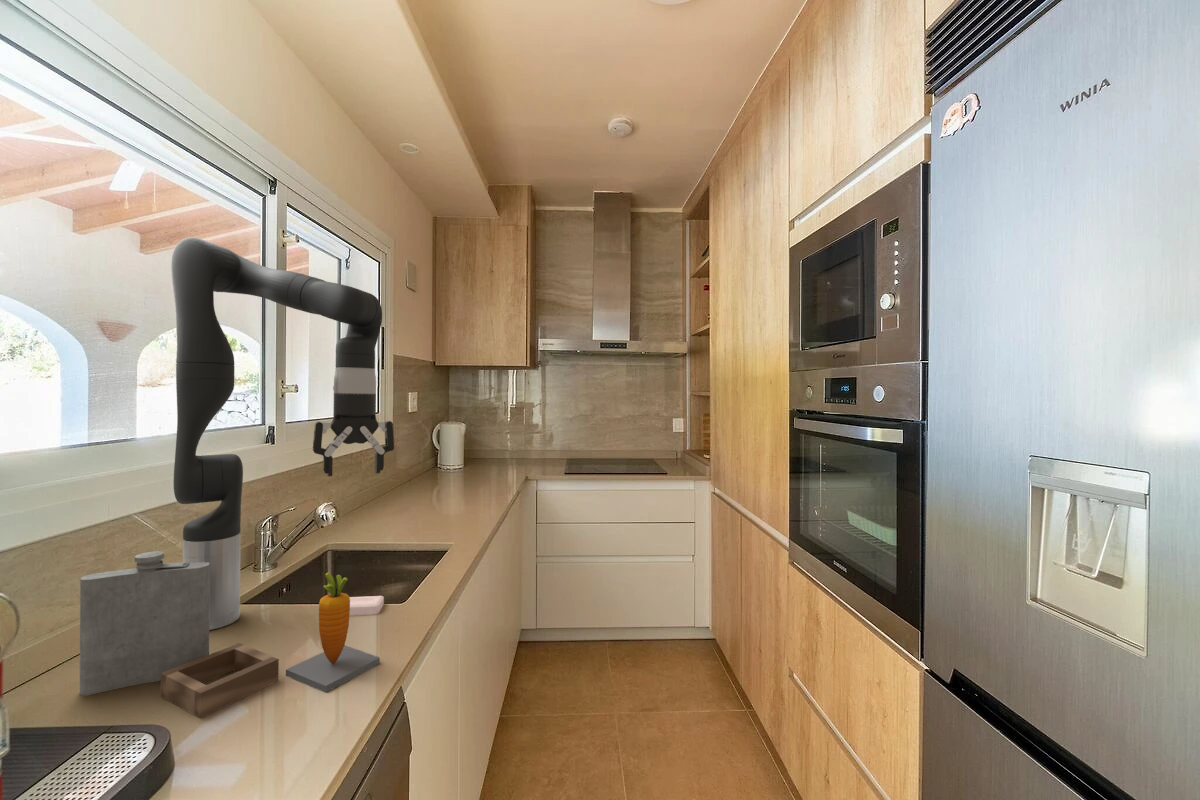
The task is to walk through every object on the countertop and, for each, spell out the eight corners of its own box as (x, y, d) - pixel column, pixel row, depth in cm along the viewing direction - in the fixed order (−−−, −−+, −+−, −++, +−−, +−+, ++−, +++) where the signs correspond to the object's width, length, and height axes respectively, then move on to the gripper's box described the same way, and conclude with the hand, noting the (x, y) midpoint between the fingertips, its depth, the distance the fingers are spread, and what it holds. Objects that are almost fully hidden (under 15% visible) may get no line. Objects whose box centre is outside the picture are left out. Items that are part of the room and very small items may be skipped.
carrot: (354, 663, 88) (357, 573, 88) (323, 674, 84) (325, 580, 84) (341, 653, 91) (344, 566, 91) (311, 663, 87) (313, 573, 87)
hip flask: (75, 697, 78) (76, 564, 78) (87, 684, 82) (88, 556, 82) (206, 673, 86) (207, 551, 85) (211, 662, 89) (213, 544, 89)
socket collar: (160, 696, 79) (160, 673, 79) (238, 663, 89) (239, 643, 89) (200, 717, 74) (200, 693, 74) (278, 680, 84) (278, 658, 84)
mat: (285, 675, 85) (285, 669, 85) (340, 649, 94) (340, 643, 94) (325, 692, 81) (325, 685, 81) (379, 663, 90) (379, 657, 90)
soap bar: (377, 616, 109) (378, 604, 109) (331, 618, 108) (331, 606, 108) (384, 605, 115) (384, 594, 115) (339, 607, 113) (339, 596, 113)
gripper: (315, 391, 96) (314, 480, 96) (397, 392, 103) (396, 474, 104) (312, 391, 102) (311, 474, 102) (389, 392, 110) (388, 469, 110)
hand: (354, 474), depth 103 cm, fingers open, 8 cm apart
